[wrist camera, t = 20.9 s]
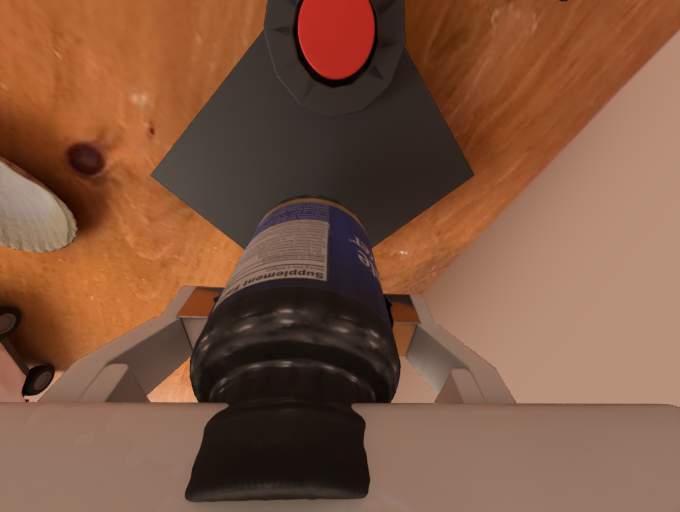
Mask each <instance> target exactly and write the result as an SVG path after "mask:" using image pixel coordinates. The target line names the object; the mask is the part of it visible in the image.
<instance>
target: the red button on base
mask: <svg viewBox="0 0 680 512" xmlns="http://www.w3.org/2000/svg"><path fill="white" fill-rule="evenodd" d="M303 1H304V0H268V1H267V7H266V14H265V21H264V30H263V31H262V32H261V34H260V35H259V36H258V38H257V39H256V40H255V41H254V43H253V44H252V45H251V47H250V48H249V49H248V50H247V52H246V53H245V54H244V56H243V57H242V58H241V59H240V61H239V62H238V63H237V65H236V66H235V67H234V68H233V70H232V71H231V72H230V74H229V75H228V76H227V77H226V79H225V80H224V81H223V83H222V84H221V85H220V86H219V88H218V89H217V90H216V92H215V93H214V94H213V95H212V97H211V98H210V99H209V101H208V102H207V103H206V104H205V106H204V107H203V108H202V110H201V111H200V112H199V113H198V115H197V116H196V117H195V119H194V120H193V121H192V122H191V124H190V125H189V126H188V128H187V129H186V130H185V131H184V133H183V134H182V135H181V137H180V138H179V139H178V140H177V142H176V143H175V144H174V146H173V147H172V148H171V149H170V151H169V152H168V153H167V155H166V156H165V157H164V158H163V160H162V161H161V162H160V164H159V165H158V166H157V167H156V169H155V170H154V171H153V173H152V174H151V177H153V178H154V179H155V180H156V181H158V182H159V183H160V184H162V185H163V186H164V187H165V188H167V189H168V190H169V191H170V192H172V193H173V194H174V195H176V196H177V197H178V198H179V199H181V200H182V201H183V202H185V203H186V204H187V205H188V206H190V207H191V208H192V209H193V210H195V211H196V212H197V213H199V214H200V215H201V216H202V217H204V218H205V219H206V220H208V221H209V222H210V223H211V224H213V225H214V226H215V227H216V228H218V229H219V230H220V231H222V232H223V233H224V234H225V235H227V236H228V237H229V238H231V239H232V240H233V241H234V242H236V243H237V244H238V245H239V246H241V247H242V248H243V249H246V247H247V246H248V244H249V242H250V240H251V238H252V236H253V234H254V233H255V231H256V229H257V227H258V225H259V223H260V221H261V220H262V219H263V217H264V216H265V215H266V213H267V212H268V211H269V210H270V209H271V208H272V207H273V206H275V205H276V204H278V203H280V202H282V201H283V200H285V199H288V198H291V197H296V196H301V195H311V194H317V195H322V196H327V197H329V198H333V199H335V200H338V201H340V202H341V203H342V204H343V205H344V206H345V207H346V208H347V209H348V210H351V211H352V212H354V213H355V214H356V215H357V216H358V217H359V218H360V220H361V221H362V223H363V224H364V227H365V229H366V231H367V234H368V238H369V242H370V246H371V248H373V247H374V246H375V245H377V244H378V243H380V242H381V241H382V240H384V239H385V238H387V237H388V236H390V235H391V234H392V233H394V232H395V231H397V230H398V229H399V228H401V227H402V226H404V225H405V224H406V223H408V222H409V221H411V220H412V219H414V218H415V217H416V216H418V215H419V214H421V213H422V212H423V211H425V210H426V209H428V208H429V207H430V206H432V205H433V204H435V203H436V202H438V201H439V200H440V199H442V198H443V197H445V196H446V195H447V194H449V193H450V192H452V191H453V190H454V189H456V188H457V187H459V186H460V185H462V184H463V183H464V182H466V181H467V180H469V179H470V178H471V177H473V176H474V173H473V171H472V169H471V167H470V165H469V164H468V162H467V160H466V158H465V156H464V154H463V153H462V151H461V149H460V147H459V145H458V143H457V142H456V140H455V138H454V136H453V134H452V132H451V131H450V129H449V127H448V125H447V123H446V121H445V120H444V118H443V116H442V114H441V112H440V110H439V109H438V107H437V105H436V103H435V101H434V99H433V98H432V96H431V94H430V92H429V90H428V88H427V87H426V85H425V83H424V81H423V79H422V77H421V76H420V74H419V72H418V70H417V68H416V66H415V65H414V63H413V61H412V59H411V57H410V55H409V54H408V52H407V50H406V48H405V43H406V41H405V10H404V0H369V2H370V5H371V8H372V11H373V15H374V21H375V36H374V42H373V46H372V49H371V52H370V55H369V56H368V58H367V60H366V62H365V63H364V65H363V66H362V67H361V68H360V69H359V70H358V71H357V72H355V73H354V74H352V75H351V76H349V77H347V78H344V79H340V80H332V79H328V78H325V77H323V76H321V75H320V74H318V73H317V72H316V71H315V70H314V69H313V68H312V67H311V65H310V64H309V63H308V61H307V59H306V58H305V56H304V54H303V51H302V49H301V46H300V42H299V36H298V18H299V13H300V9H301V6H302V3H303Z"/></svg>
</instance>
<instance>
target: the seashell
mask: <svg viewBox="0 0 680 512" xmlns="http://www.w3.org/2000/svg"><path fill="white" fill-rule="evenodd" d="M76 224H77V221H76V219H75V218H74V217H73V214H72V212H71V210H70V209H69V208H68V207H67V206H66V204H65V203H64V202H63V201H62V200H61V199H60V198H59V197H58V196H57V195H56V194H55V193H54V192H52V191H51V190H50V189H49V188H48V187H46V186H45V185H44V184H43V183H42V182H40V181H39V180H38V179H37V178H35V177H34V176H32V175H31V174H29V173H28V172H26V171H24V170H23V169H21V168H19V167H18V166H16V165H15V164H13V163H11V162H10V161H8V160H6V159H5V158H3V157H1V156H0V245H1V246H3V247H11V248H13V249H14V250H26V251H28V252H37V251H38V252H41V253H43V252H46V251H55V250H59V249H62V248H65V247H67V246H68V245H69V244H71V243H73V241H74V239H75V238H76V237H77V234H76V233H77V232H78V230H79V229H78V227H77V225H76Z"/></svg>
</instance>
